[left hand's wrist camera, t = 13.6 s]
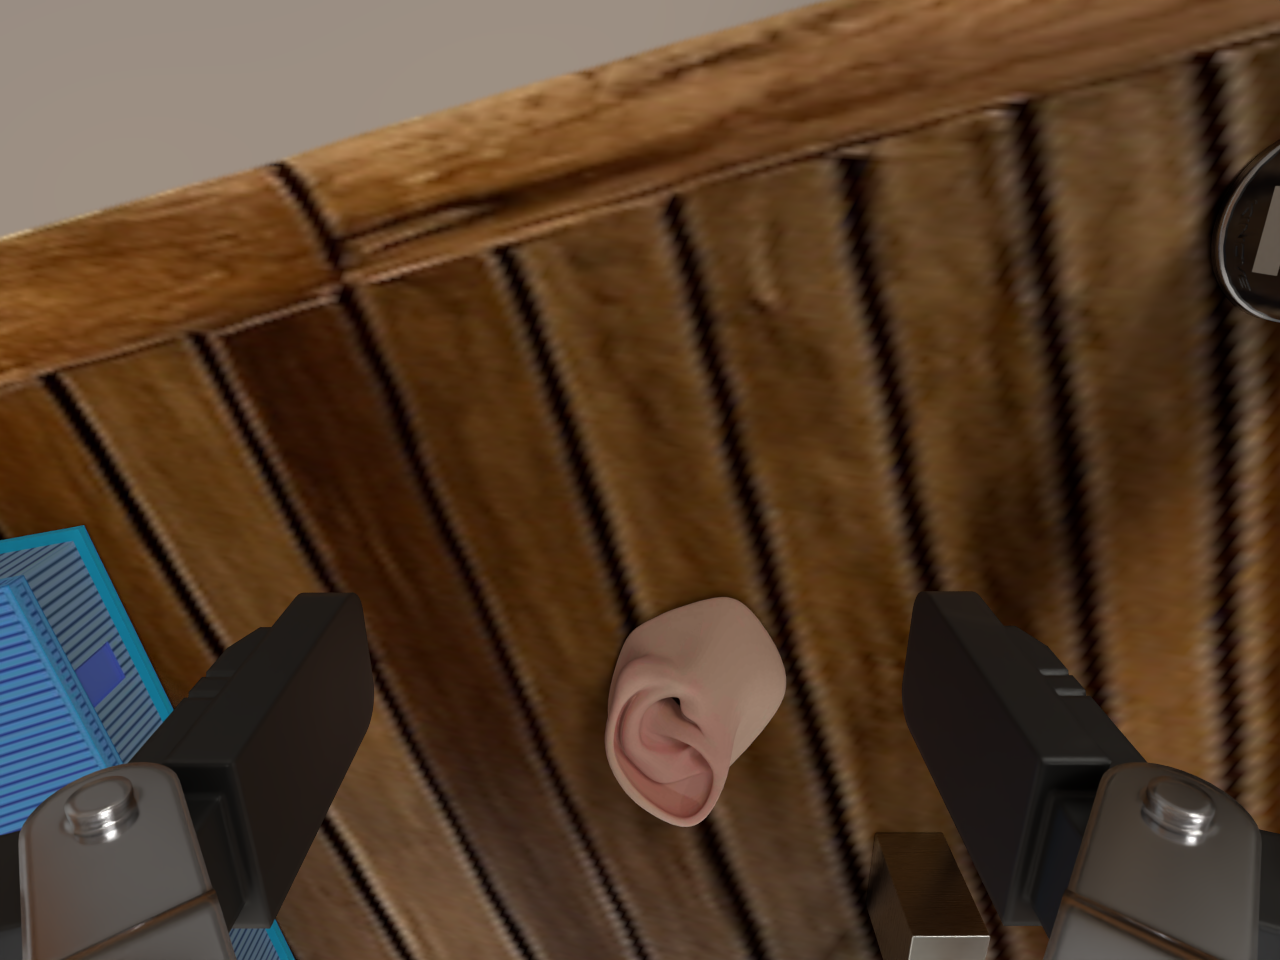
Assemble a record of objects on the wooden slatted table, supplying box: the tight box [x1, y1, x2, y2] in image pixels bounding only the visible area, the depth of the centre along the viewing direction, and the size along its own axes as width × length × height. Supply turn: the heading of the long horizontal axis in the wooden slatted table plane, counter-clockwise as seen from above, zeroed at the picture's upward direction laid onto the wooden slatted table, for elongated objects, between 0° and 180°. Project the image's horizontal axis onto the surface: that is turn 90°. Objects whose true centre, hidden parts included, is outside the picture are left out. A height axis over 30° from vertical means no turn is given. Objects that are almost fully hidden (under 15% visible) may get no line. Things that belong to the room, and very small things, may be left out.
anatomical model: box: [605, 597, 786, 827], centre depth 47 cm, size 13×4×12 cm
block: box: [866, 833, 990, 960], centre depth 51 cm, size 5×6×8 cm
